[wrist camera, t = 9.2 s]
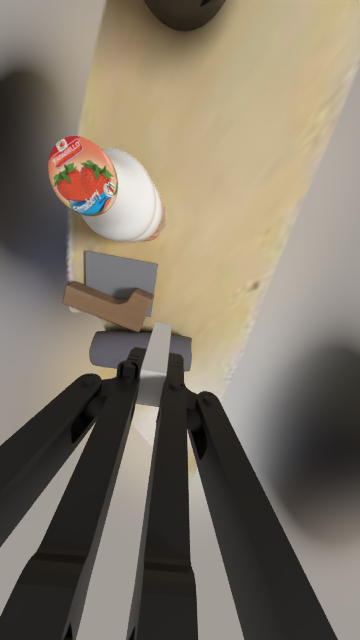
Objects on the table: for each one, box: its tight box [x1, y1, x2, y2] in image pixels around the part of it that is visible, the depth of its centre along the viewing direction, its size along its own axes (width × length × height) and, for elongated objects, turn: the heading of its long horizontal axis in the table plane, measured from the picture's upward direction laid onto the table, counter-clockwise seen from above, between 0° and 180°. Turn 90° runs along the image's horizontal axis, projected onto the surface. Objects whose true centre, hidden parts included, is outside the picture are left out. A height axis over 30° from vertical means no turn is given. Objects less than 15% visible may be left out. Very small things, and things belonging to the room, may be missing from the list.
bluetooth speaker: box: [89, 331, 192, 372], centre depth 47 cm, size 23×9×10 cm, turn 86°
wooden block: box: [63, 282, 154, 332], centre depth 44 cm, size 9×4×18 cm
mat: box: [85, 251, 158, 317], centre depth 45 cm, size 13×16×1 cm
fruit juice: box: [48, 136, 167, 242], centre depth 27 cm, size 9×9×28 cm
